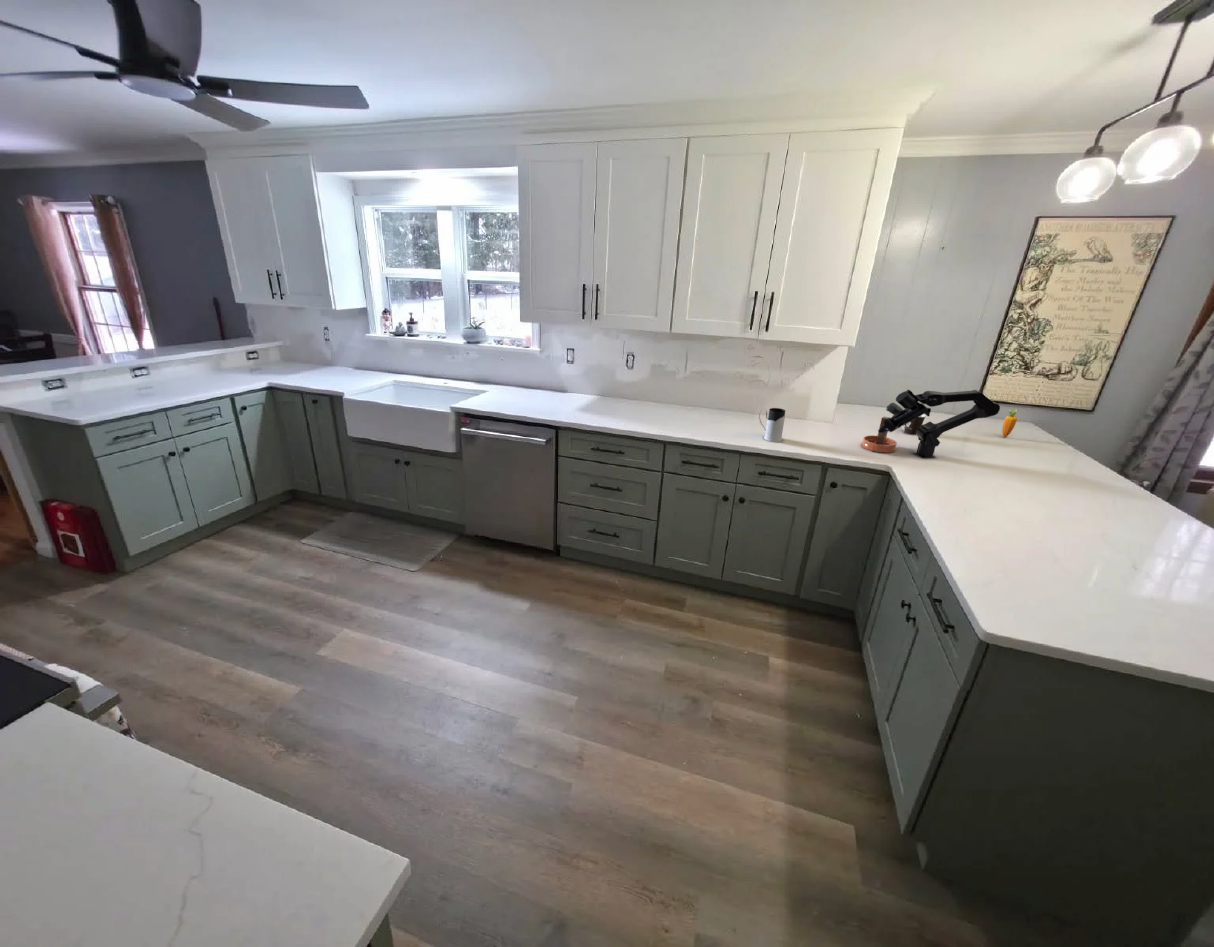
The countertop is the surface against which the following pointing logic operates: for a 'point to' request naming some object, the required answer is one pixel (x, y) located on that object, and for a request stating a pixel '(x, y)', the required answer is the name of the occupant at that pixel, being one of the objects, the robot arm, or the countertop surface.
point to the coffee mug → (914, 425)
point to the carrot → (1009, 423)
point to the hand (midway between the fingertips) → (880, 430)
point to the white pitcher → (774, 424)
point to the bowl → (870, 444)
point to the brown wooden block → (881, 434)
